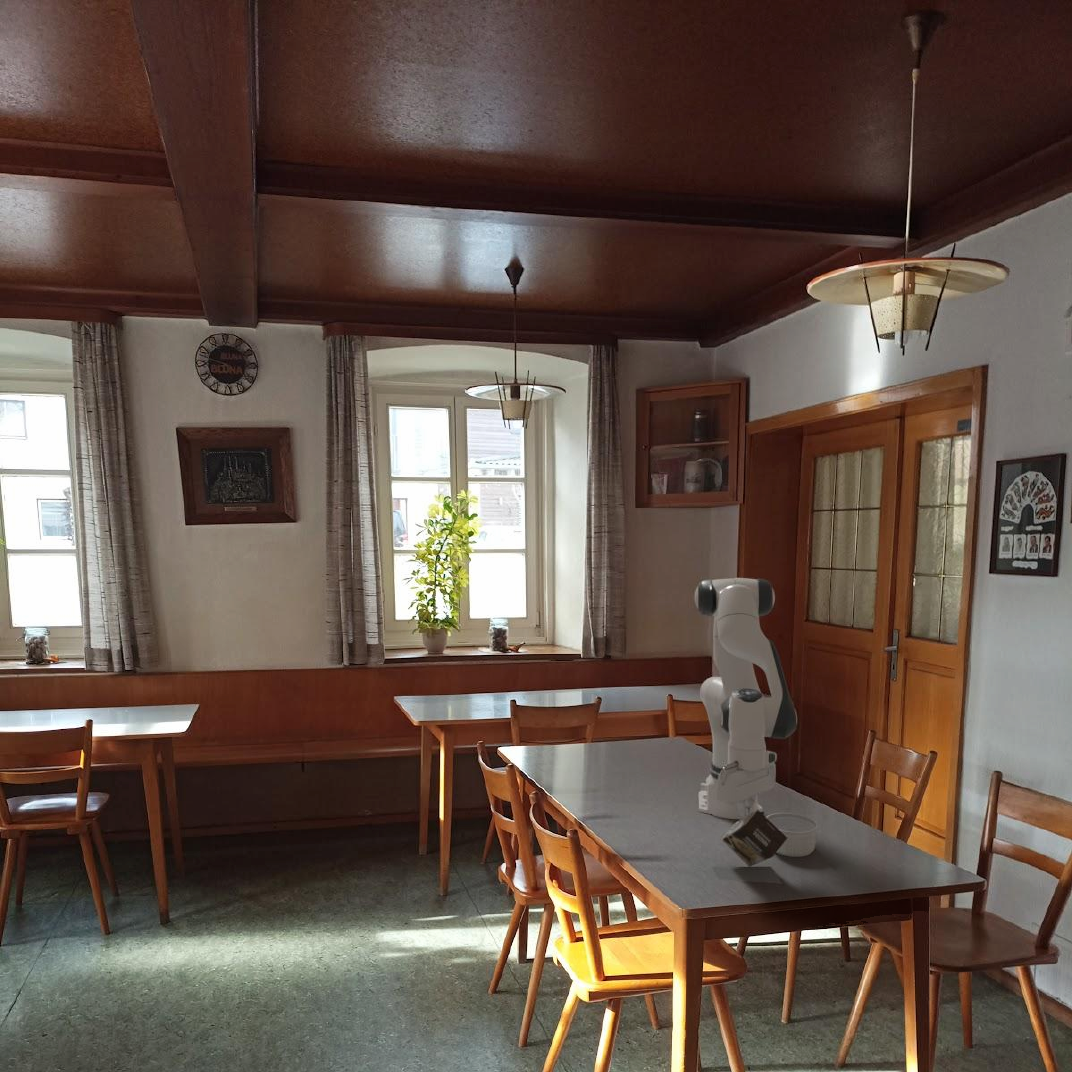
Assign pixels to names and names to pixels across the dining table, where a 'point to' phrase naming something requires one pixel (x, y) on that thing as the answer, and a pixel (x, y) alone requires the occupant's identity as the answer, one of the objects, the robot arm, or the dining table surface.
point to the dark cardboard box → (754, 838)
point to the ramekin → (795, 833)
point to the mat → (747, 874)
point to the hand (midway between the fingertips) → (745, 814)
